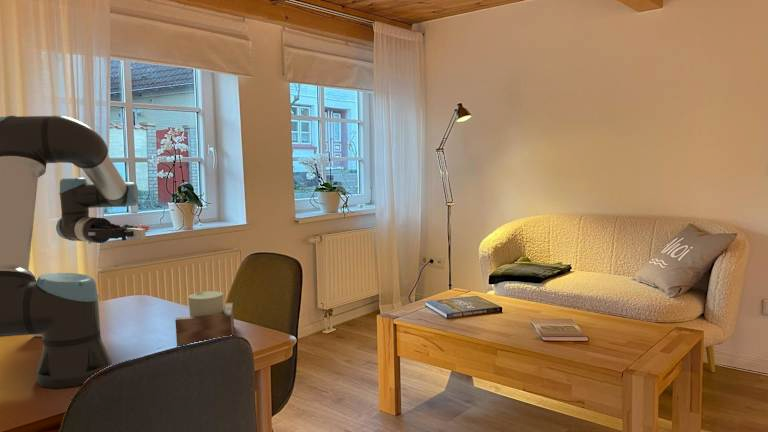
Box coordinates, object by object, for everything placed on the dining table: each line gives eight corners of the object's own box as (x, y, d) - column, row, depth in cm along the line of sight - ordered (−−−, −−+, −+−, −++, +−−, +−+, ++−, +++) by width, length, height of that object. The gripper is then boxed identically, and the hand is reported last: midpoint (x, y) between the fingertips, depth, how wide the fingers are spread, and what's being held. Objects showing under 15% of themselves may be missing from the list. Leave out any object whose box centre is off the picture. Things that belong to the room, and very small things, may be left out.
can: (210, 329, 169) (208, 288, 168) (232, 334, 164) (230, 291, 163) (183, 337, 162) (180, 294, 161) (205, 343, 157) (202, 298, 155)
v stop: (173, 345, 156) (171, 319, 155) (230, 325, 172) (229, 302, 172) (202, 351, 150) (200, 324, 149) (258, 331, 166) (257, 306, 165)
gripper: (115, 239, 184) (163, 244, 171) (74, 245, 173) (122, 250, 160) (113, 215, 183) (162, 218, 170) (72, 219, 172) (120, 223, 160)
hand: (143, 234), depth 165 cm, fingers closed
